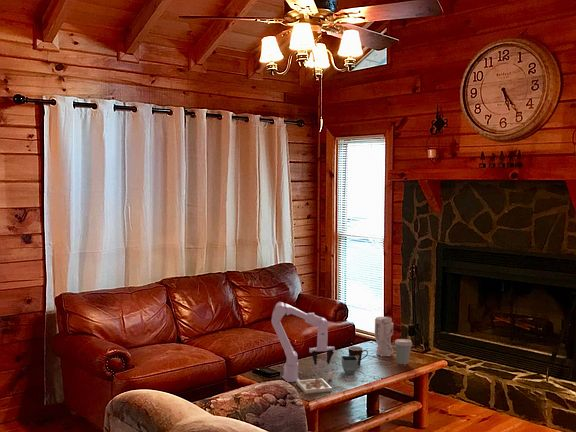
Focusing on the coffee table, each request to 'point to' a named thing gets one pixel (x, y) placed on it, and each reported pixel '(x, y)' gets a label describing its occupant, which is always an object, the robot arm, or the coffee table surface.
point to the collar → (314, 384)
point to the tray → (309, 390)
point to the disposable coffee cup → (403, 350)
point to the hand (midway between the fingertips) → (321, 363)
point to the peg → (330, 377)
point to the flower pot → (349, 364)
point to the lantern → (383, 335)
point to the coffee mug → (356, 352)
